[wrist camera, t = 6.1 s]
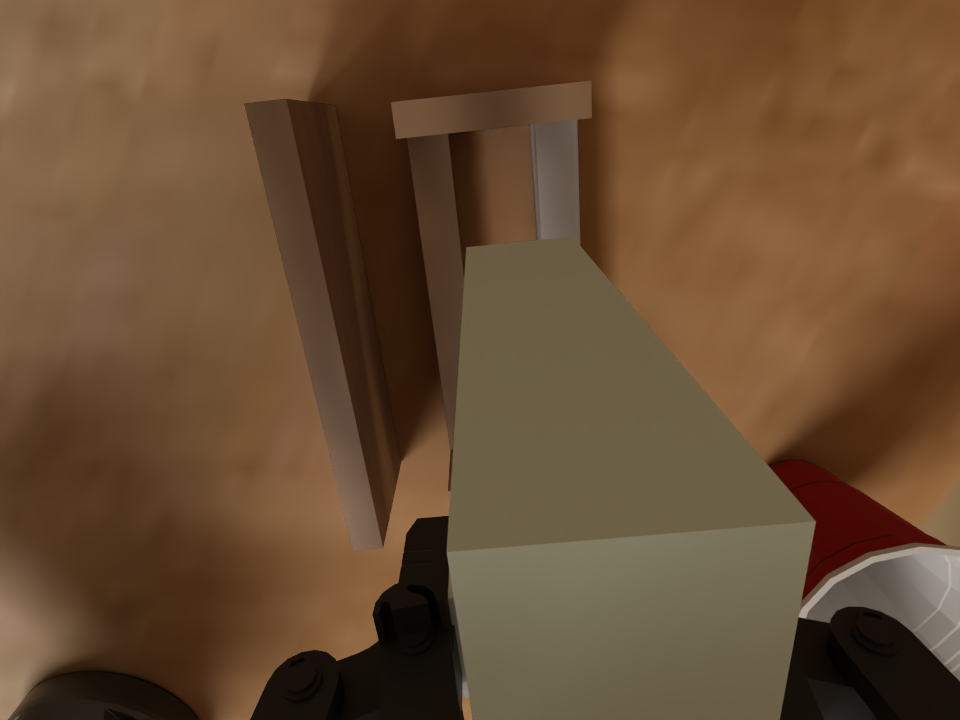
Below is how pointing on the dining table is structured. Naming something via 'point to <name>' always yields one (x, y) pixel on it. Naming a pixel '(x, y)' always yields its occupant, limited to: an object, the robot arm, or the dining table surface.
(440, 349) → the track
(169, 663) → the dining table surface
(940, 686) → the robot arm
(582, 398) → the door panel
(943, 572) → the plastic cup
